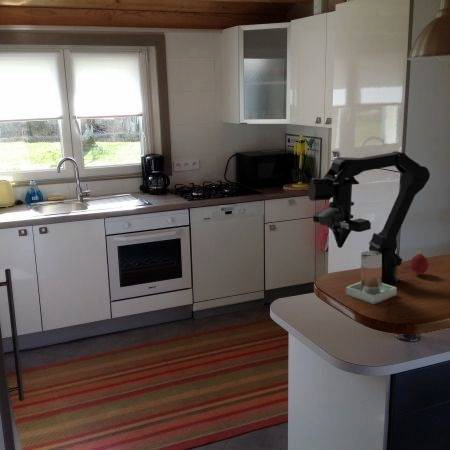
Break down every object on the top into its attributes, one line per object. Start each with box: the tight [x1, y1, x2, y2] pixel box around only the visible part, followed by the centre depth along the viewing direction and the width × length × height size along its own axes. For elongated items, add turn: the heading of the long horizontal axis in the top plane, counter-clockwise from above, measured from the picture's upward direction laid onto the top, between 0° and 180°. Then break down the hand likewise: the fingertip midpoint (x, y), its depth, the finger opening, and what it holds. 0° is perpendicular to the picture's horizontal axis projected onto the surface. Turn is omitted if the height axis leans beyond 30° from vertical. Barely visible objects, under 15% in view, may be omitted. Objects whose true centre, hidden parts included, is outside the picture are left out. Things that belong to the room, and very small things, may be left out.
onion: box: [409, 251, 430, 276], centre depth 181 cm, size 6×6×8 cm
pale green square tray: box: [345, 281, 398, 305], centre depth 167 cm, size 11×11×2 cm
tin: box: [360, 250, 382, 295], centre depth 165 cm, size 6×6×12 cm
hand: (339, 247), depth 171 cm, fingers closed
